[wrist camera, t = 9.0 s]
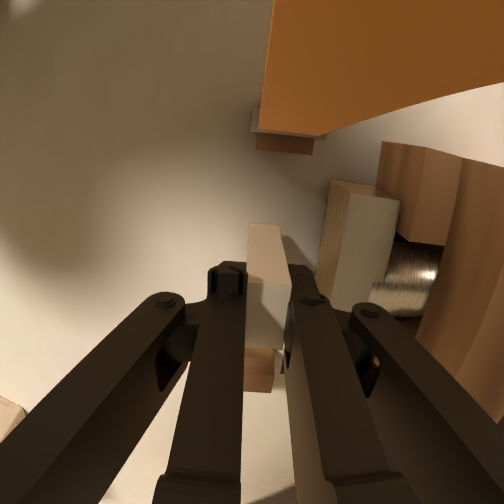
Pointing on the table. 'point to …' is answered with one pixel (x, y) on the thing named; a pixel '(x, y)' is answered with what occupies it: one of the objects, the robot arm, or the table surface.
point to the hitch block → (451, 266)
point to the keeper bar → (372, 59)
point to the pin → (372, 254)
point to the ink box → (9, 417)
